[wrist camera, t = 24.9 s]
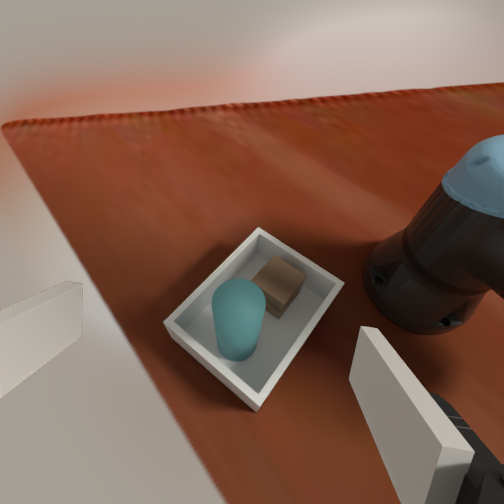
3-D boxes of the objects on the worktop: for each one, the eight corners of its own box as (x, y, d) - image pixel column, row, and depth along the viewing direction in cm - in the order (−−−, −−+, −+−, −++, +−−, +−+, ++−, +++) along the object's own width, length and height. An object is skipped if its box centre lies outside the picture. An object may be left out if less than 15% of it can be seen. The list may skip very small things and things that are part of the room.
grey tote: (255, 250, 46) (258, 227, 41) (331, 301, 42) (344, 282, 37) (171, 338, 38) (162, 322, 33) (256, 412, 34) (259, 406, 29)
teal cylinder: (234, 314, 39) (235, 269, 29) (264, 338, 38) (276, 298, 28) (208, 344, 37) (200, 305, 27) (240, 370, 36) (242, 340, 26)
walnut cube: (270, 273, 43) (274, 254, 39) (299, 293, 42) (306, 275, 38) (248, 297, 41) (250, 280, 37) (278, 319, 39) (283, 304, 35)
